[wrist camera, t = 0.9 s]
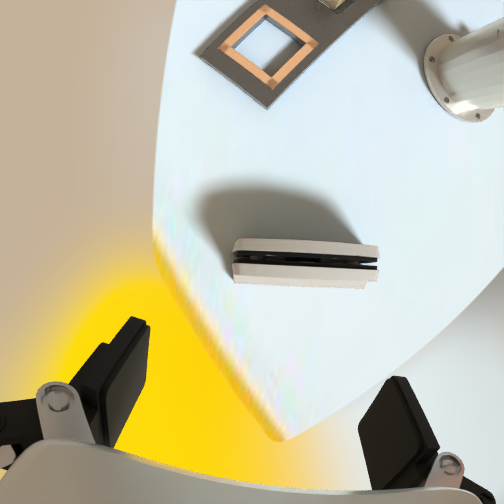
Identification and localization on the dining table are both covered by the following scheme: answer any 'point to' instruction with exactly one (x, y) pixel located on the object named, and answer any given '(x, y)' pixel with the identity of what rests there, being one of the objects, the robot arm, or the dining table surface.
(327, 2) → the plug
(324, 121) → the dining table surface
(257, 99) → the grey flat holed plate
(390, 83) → the dining table surface
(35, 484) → the robot arm
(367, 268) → the grey slotted arched block
